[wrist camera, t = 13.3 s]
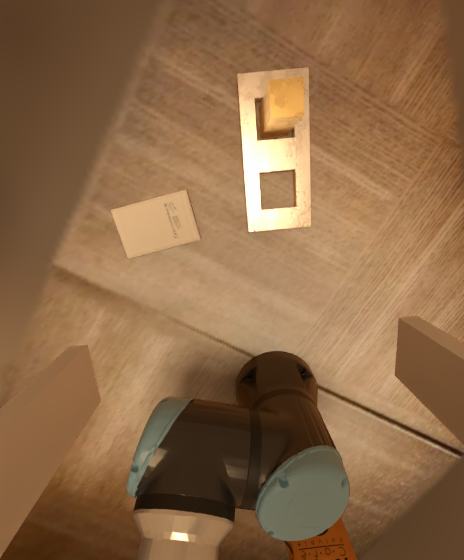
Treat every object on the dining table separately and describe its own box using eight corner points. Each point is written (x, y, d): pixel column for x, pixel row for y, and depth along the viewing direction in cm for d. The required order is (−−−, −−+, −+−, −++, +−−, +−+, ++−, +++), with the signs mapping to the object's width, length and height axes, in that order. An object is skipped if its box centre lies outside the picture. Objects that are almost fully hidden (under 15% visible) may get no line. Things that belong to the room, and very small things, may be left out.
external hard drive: (114, 209, 46) (187, 189, 45) (131, 257, 48) (201, 239, 48) (110, 209, 45) (185, 189, 44) (128, 259, 47) (200, 240, 46)
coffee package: (277, 480, 61) (304, 629, 39) (334, 481, 61) (392, 629, 40) (274, 515, 63) (298, 673, 42) (329, 515, 63) (381, 672, 42)
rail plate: (308, 225, 47) (310, 226, 45) (248, 231, 47) (248, 231, 45) (305, 72, 41) (308, 67, 40) (236, 78, 41) (237, 74, 40)
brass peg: (286, 135, 43) (304, 115, 34) (260, 137, 43) (270, 118, 34) (286, 105, 42) (303, 76, 32) (259, 108, 42) (268, 79, 33)
